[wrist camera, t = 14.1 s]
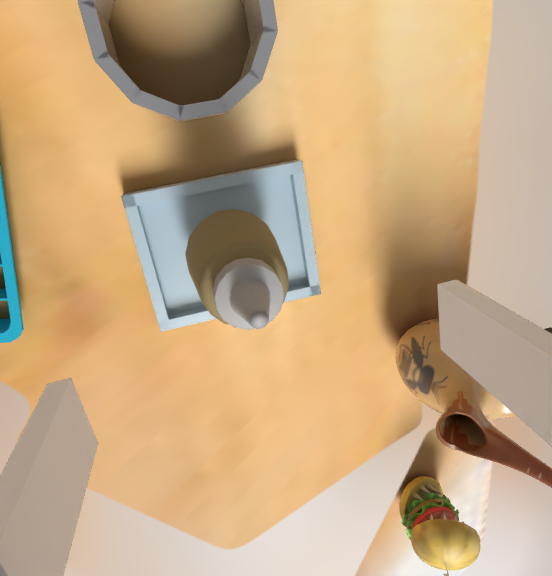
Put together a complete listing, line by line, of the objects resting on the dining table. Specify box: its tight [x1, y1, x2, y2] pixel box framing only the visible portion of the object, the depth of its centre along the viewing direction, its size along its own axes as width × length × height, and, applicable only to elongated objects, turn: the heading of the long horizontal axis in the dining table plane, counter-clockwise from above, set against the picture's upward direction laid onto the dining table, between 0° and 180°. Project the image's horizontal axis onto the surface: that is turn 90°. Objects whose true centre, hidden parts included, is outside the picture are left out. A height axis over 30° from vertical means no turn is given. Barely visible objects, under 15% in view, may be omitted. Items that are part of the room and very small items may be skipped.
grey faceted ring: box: [78, 0, 278, 122], centre depth 34 cm, size 13×13×6 cm
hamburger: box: [399, 476, 480, 576], centre depth 54 cm, size 8×7×12 cm
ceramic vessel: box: [396, 319, 552, 488], centre depth 40 cm, size 16×9×25 cm, turn 81°
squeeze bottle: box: [185, 209, 289, 330], centre depth 35 cm, size 8×8×18 cm
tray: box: [121, 159, 321, 332], centre depth 43 cm, size 16×13×2 cm
